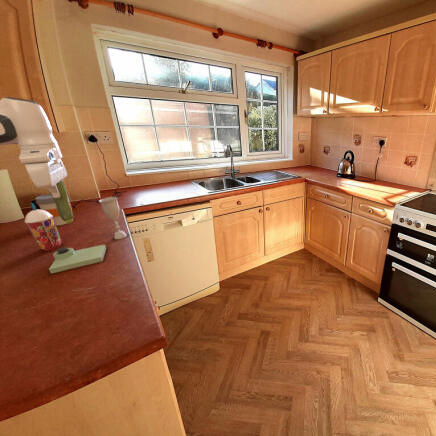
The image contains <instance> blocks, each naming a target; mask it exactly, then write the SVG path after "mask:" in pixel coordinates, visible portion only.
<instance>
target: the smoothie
mask: <svg viewBox="0 0 436 436" xmlns="http://www.w3.org/2000/svg"><path fill="white" fill-rule="evenodd" d="M30 205H31V207H32V210H31V211H29V212H28V213H27V214H26V215H25V219H24V223H25V225H26V226H27V228H28V229H29V230H28V231H30V233H31V235H32V236H33V238H34V240H35V242H36V243H37V245H38V247H39V248H40V249H42V250H43V251H47V252H48V251H52V250H57V249H59V248H61V247H62V243H63V242H62V239H61V236H60V233H59V231H58V228H57V226H56V224H55V221H54V218H53V215H51V214H50V213H49V212H47V211H45V210H40V208H39V209H37V208H36V205H35V204H34V203H32V202H31V204H30Z"/></svg>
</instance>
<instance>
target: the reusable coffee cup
mask: <svg viewBox="0 0 436 436" xmlns="http://www.w3.org/2000/svg"><path fill="white" fill-rule="evenodd" d="M67 197H68V201H69V204H70V206H71V210H72V211H73V209H72V203H71V202H70V197H69V195H68V194H67ZM35 202H36V205H38V206H39V209H40V210H45V211H47V212H49V213H50V214H51V215H53V218H54V221H55V224H56V227H57V226H63V225H66V224H67V223H66V222H65V221H64V220H62V219H61V217H60V215H59V213H58V211H57V207H56V204H55V202H54V199H53V197H52V195H51V194H50V193H47V194H42V195H39V196H37V197H35ZM67 225H68V224H67Z"/></svg>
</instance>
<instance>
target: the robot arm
mask: <svg viewBox="0 0 436 436" xmlns="http://www.w3.org/2000/svg"><path fill="white" fill-rule="evenodd" d="M7 145H18V147H19V149H20V154H19V155H18V159H19V161H20V163H21V164H25V166H24V167H25V170H26V172H27V173H28V175H29V177H30V180H31V181H32V183H33V185H34V186H35V187H36V188H38V189H47V190H48V192H49V193H50V192H51V193H52V196H53V197H54V198H58V197H60V196H61V194H60V191H58V189H57V185H56V184H57V183H58V182H60V180H62V181H63V182H64V179H65V178H67V177H68V171H67V169H66V167H65V165H64V162H63V161H62V159H63V154H62V151H61V148H60V146H59V144H58V141H57V140H56V138H55V137H54V135H53V127H52V125H51V122H50V120H49V118H48V116H47V114H46V111H45V110H44V109H43V106H41V105H40V104H39V103H38V102H36V101H35V100H30V99H26V98H20V97H12V96H5V97H2V98H1V99H0V146H7Z"/></svg>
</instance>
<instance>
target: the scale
mask: <svg viewBox="0 0 436 436" xmlns="http://www.w3.org/2000/svg"><path fill="white" fill-rule="evenodd" d="M67 248H68V252H66V253H63V254H58V252H57V251H55V252H54V253H52V257H53V258H54V260H53V262H52V263H51V265H50V266H49V268H48V271H49V272H50V274H55V273H60V272H63V271H67V270H72V269H76V268H79V267H84V266H88V265H92V264H96V263H100V262H103V261H104V258H105V254H106V250H107V247H106V244H105V243H104V244H99V245H95V246H89V247H86V248H81V249H77V250H74V248H73V247H67Z"/></svg>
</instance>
